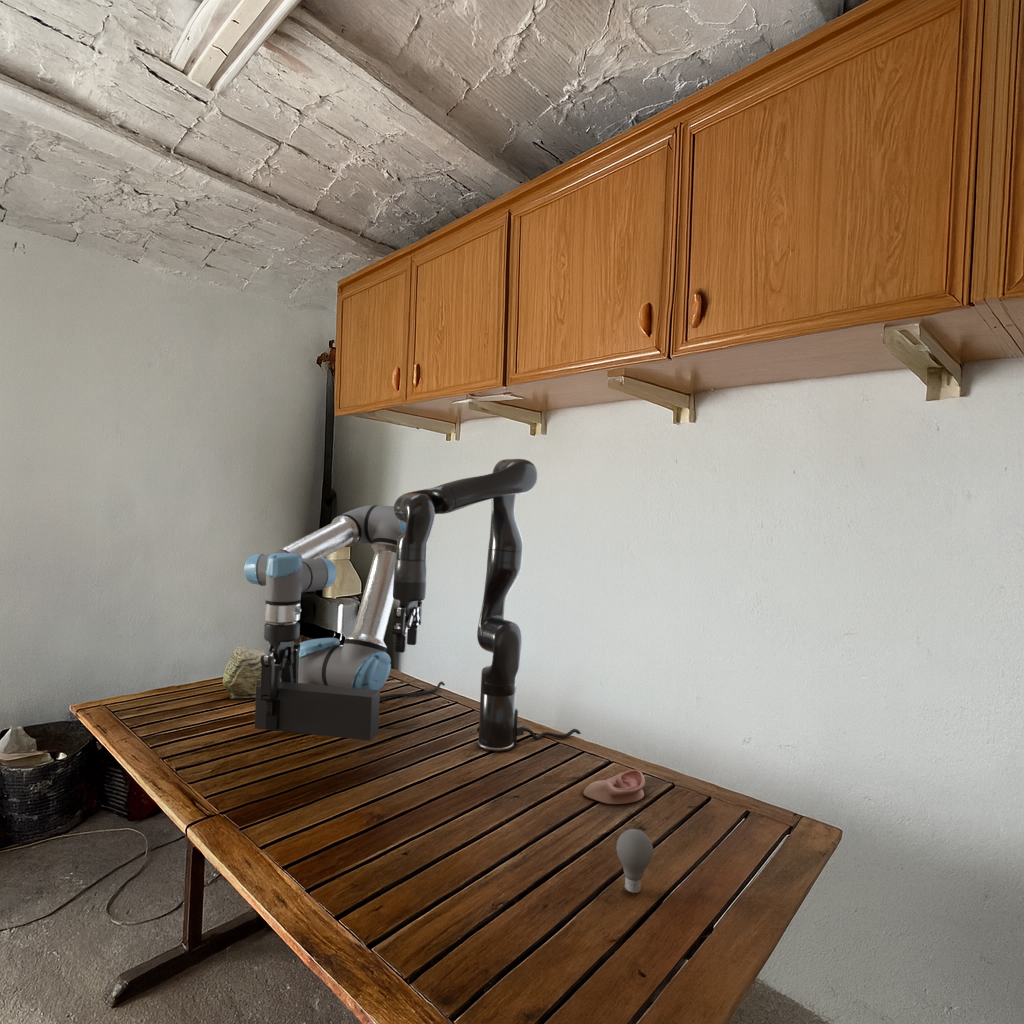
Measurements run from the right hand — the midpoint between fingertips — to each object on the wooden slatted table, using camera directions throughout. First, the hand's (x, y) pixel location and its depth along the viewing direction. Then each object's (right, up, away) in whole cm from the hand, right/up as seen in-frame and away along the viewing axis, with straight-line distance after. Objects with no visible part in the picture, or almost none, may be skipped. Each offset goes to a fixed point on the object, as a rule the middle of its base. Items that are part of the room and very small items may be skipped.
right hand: (405, 648), depth 148 cm
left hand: (-28, -16, -4) cm, 33 cm away
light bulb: (+45, -32, -42) cm, 69 cm away
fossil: (-56, -26, +50) cm, 80 cm away
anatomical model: (+48, -31, -6) cm, 57 cm away
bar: (-19, -17, -6) cm, 26 cm away
